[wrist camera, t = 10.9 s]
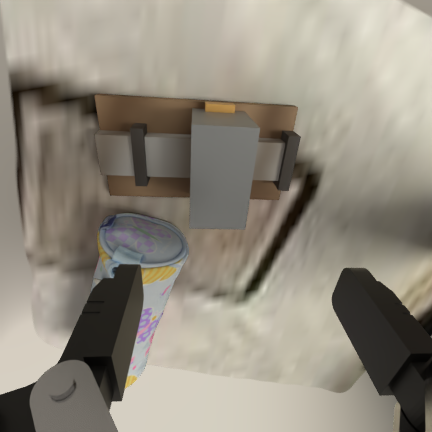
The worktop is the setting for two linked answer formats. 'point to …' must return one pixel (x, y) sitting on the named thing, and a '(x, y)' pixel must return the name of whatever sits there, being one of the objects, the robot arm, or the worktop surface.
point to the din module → (221, 166)
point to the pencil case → (142, 269)
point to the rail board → (182, 123)
